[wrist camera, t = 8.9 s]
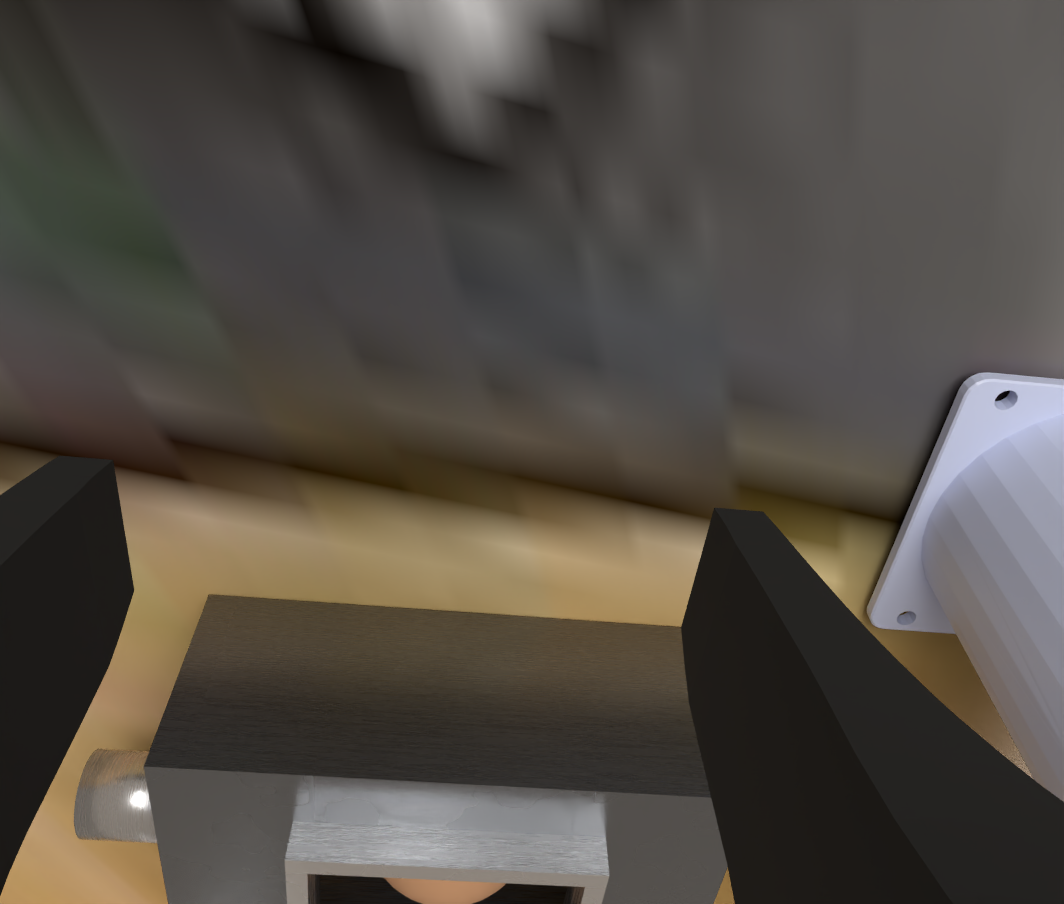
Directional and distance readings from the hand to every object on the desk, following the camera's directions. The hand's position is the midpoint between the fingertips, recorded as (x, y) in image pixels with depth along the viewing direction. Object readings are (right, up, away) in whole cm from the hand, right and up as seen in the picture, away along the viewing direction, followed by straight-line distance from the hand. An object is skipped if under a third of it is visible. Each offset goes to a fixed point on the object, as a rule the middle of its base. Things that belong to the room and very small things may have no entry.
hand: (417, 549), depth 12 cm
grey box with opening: (-3, -8, +18) cm, 20 cm away
